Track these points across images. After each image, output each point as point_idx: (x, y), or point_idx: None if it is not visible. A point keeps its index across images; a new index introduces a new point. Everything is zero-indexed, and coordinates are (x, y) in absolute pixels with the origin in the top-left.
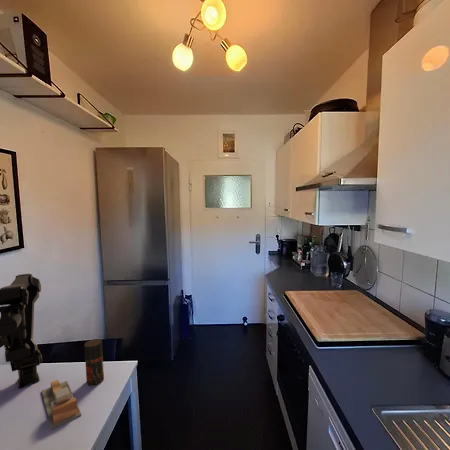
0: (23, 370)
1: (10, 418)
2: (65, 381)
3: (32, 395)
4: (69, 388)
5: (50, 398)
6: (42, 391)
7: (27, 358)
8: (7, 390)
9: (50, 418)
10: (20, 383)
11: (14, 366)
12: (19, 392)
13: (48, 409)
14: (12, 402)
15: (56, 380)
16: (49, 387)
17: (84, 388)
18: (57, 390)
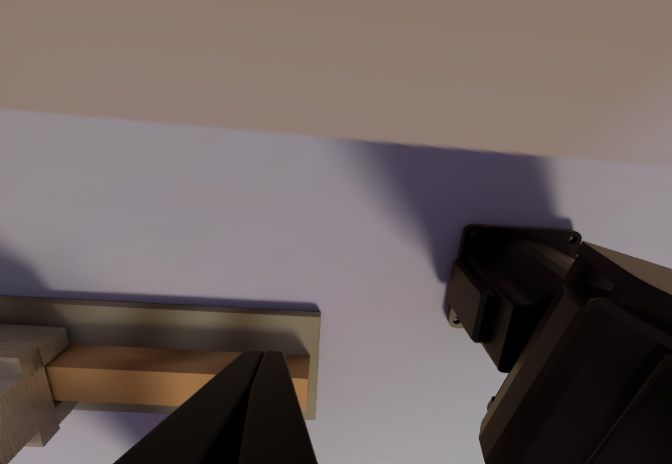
0: (515, 311)
1: (177, 153)
2: (311, 414)
3: (325, 271)
4: None
5: (203, 336)
6: (304, 319)
7: (523, 444)
8: (509, 169)
9: (24, 307)
10: (499, 242)
11: (561, 290)
12: (419, 222)
13: (108, 313)
14: (338, 178)
15: (302, 403)
16: (317, 350)
17: None
18: (187, 389)
